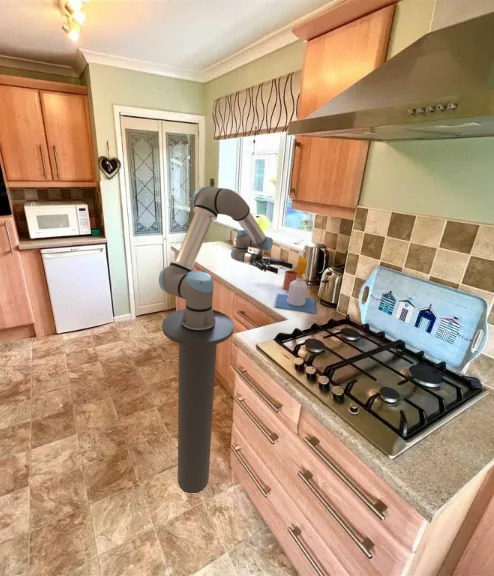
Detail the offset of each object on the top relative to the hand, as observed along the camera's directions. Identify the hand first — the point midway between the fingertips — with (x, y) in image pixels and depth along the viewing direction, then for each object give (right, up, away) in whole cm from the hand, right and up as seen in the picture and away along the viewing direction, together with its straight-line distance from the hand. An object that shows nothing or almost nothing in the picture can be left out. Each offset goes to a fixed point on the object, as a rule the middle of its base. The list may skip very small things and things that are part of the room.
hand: (285, 268), depth 161 cm
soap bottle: (+6, -18, 0) cm, 19 cm away
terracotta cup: (+7, -10, +21) cm, 25 cm away
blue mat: (+6, -18, 0) cm, 19 cm away
